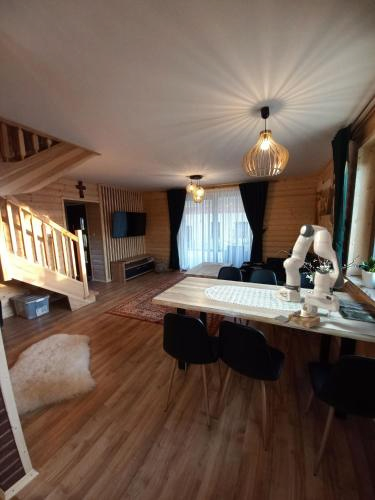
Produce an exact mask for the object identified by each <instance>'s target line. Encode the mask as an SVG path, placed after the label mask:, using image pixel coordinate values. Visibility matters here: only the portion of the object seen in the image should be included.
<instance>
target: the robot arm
mask: <svg viewBox="0 0 375 500" xmlns="http://www.w3.org/2000/svg"><path fill="white" fill-rule="evenodd" d="M299 233H300V234H299V236H298V237H297V240H296V241H295V244H294V246H293V248H292V255H291V256H290V257H288V258H286V259H285V260H284V261H283V268H284V269H285V274H286V283H283V287H281V288H280V289H278V290H277V293H276V294H274V297H275V298H278V299H280V300H281V301H282V300H283V301H285V302H288V303H289V302H290V303H291V302H292V303H300V302H302V297H301V287H302V286H301V274H300V271H299V269H300V268H302V267H303V266H304V265H305V260H306V256H307V253H308V251H309V250H310V247H311V245H312V243H313V252H314V253H315V254H316V255H317V256H319V257H320V258H324V259H325V260H328V261H330V262H331V263H332V267H333V271H334V273H331V272H330V271H329V270H327V269H316V270H315V272H314V273H313V274H312V275H311V276H312V279H311V280H312V281H311V283H312V284H313V285H314V287H313V291H312V290H311V291H310V290H306V291H305V294H304V295H305V297H304V303H306V304H310V307H311V311H313V312H314V311H315V309H314V308H313V306H316V307H318V308H320V309H323V310H327V313H326V317H330V316H331V314H332V312H333V313H337V312H339V310H340V302H339V300H338V299H339V296H337V295H336V294H334V293H333V292H330V291H331V290H330V288H333V289H336V290H338V289H341V288H343V287H344V286H345V282H346V281H345V277H344V275H343V271H342V266H341V262H340V257H339V253H338V252H337V251H336V250H334V249H333V245H332V244H333V242H332V241H333V240H332V232H331V230H330V229H329V228H327V227H323V226H319V225H315V224H311V223H310V224H304V225H302V226H301V227H300V231H299Z"/></svg>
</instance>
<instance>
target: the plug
mask: <svg viewBox="0 0 375 500" xmlns="http://www.w3.org/2000/svg"><path fill="white" fill-rule="evenodd" d="M300 310H301V313H299V316H301V317H304V318H309V317H310V315H309V314H308V310H307V309H305V308H301V309H300Z"/></svg>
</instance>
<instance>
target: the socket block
mask: <svg viewBox="0 0 375 500" xmlns="http://www.w3.org/2000/svg"><path fill="white" fill-rule="evenodd" d="M308 314H309V313H308ZM309 315H310V317H309V318H304V317H301V316H299V314H297V315H293V312H292V313H290V314H288V317H287V318H288V319H289V320H290V322H293V323H294V324H297V325H298V326H299V325H300V326H302V327H305V328H307V329H310V328H312V327H315V326H317V325H318V324H320V323H321V317H320V316H318V315H312V314H309Z"/></svg>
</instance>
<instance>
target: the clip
mask: <svg viewBox="0 0 375 500" xmlns="http://www.w3.org/2000/svg"><path fill="white" fill-rule="evenodd" d="M303 308H305V309H307V305H305V306H303ZM303 308H302V309H303ZM292 313H293V315H297V314H299V313H301V309H300V310H297V311H292Z"/></svg>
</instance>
